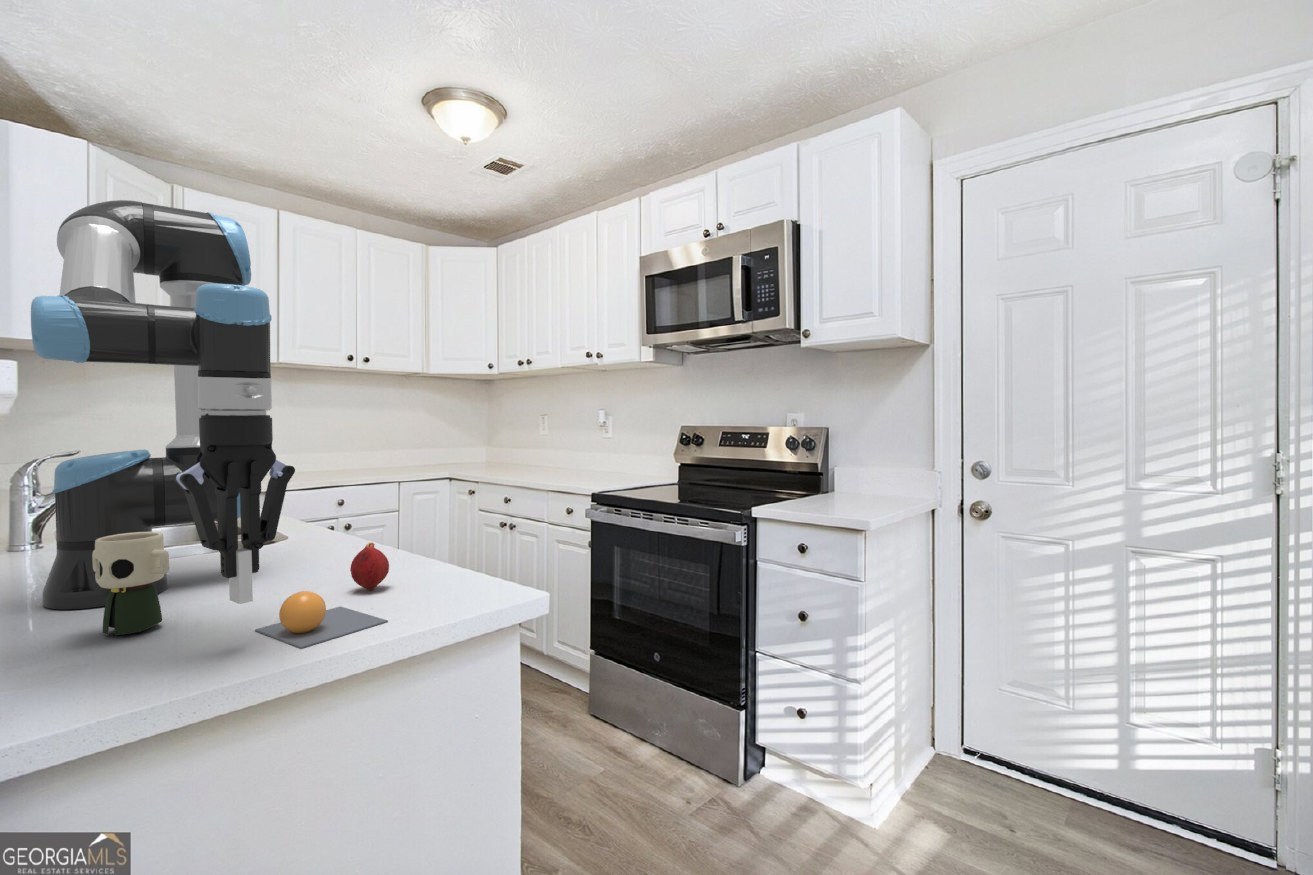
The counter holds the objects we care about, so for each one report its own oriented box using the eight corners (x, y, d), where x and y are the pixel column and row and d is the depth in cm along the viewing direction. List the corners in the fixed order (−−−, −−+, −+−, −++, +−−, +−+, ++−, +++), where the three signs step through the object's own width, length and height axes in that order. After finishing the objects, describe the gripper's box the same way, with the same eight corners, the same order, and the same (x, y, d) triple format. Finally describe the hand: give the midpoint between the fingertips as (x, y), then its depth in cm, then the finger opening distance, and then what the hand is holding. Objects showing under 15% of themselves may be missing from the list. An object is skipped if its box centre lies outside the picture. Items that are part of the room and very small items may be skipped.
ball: (277, 587, 84) (318, 588, 88) (267, 629, 83) (310, 628, 87) (295, 594, 81) (337, 594, 85) (285, 637, 80) (328, 636, 84)
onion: (374, 596, 101) (373, 547, 101) (343, 594, 102) (341, 545, 102) (396, 586, 107) (395, 539, 106) (366, 584, 108) (365, 538, 107)
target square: (254, 630, 85) (254, 629, 85) (340, 607, 95) (340, 606, 95) (301, 648, 78) (301, 647, 78) (387, 621, 88) (387, 620, 88)
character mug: (70, 639, 82) (66, 541, 81) (121, 621, 89) (118, 530, 89) (146, 641, 81) (142, 542, 80) (192, 623, 88) (189, 531, 88)
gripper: (187, 414, 70) (193, 621, 71) (306, 413, 80) (309, 593, 82) (160, 412, 74) (166, 608, 75) (276, 411, 85) (280, 583, 86)
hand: (241, 600), depth 79 cm, fingers closed
